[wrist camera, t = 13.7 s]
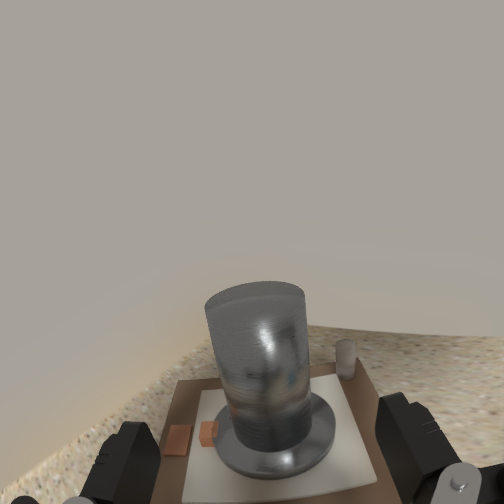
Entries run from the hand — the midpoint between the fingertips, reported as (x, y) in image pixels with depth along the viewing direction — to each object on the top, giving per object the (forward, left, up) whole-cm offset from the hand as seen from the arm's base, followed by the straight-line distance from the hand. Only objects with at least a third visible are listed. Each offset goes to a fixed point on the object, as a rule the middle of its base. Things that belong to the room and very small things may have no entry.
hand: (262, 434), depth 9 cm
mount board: (0, -7, -9) cm, 12 cm away
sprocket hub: (0, -7, -8) cm, 11 cm away
